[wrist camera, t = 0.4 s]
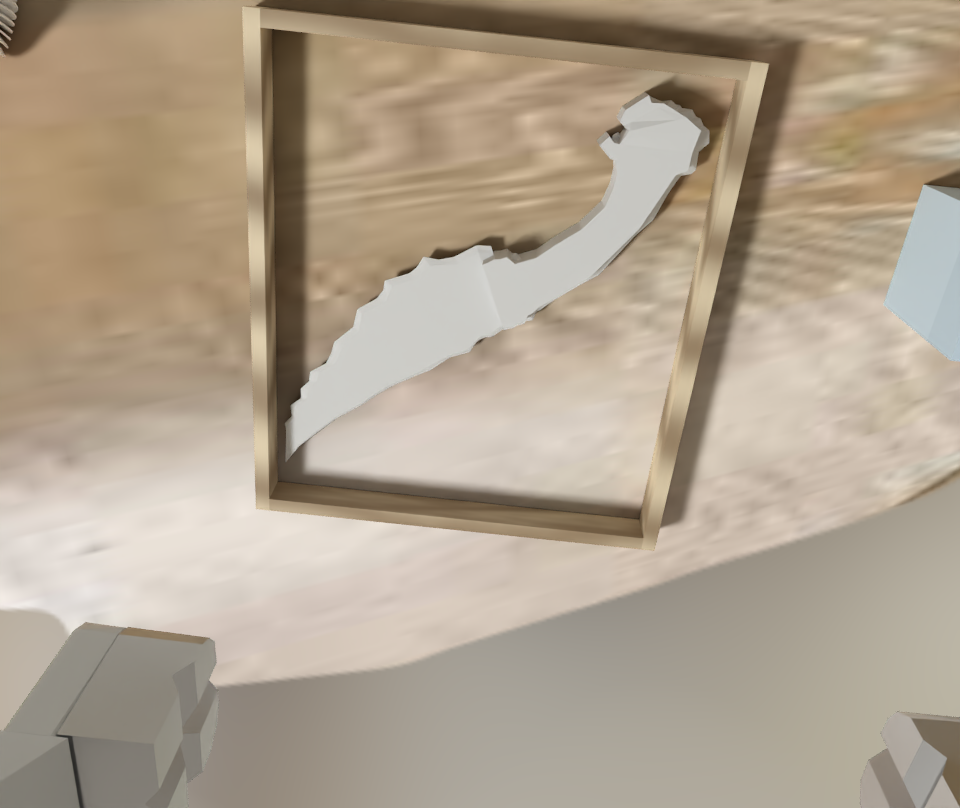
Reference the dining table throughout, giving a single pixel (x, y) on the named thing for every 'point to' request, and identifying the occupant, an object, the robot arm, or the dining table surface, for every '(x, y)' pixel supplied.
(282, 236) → the dining table surface
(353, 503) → the wooden frame
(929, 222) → the shelf
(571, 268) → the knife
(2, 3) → the shell sculpture
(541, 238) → the dining table surface
